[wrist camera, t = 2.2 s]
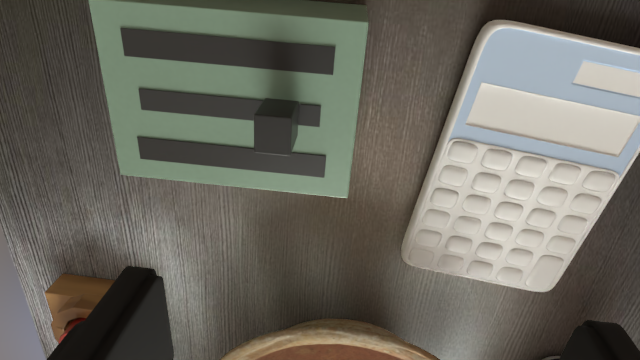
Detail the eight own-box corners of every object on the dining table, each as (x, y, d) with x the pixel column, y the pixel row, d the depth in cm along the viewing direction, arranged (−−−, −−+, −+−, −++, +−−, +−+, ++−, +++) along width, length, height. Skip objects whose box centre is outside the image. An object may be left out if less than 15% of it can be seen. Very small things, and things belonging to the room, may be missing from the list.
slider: (266, 129, 23) (253, 153, 20) (267, 94, 22) (253, 114, 19) (298, 132, 23) (290, 157, 20) (300, 97, 22) (292, 117, 19)
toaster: (172, 127, 32) (119, 175, 25) (157, -13, 27) (86, -3, 20) (350, 145, 32) (347, 199, 25) (366, 5, 27) (368, 22, 20)
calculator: (396, 253, 36) (398, 267, 34) (481, 13, 26) (490, 16, 25) (543, 283, 36) (552, 299, 35) (681, 56, 27) (703, 63, 25)
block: (61, 268, 40) (29, 301, 36) (160, 281, 40) (139, 316, 36) (90, 376, 48) (67, 413, 44) (174, 388, 48) (157, 427, 44)
